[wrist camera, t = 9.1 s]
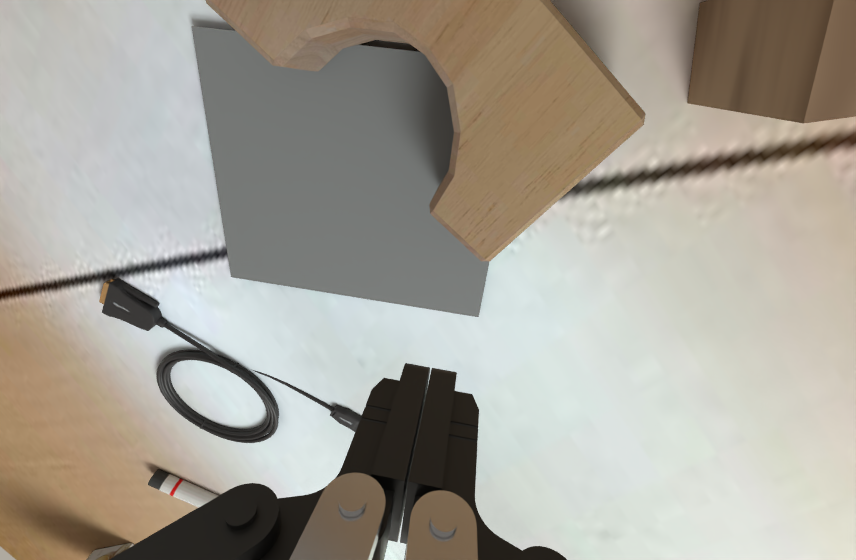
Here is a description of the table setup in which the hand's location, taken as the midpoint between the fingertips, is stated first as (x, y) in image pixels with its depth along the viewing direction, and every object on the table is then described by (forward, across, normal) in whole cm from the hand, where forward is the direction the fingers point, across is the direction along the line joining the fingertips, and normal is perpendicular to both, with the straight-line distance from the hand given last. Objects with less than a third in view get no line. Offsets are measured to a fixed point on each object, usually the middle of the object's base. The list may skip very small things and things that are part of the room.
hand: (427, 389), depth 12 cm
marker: (+19, +26, +43) cm, 54 cm away
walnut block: (+19, -14, -11) cm, 26 cm away
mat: (+19, +8, 0) cm, 21 cm away
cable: (+20, +21, +24) cm, 37 cm away
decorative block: (+16, -5, -2) cm, 16 cm away
